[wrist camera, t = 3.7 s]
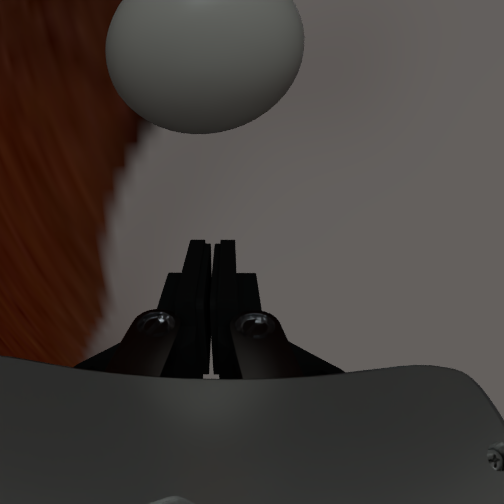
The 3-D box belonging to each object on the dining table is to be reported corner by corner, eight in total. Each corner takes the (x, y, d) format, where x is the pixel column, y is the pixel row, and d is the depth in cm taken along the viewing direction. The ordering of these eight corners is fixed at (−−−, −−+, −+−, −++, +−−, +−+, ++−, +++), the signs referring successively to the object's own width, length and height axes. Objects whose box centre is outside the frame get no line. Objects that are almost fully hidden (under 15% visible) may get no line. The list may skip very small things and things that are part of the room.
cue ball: (201, 157, 11) (178, 199, 6) (111, 61, 9) (31, 40, 4) (314, 70, 10) (380, 45, 5) (222, -27, 8) (218, -105, 3)
